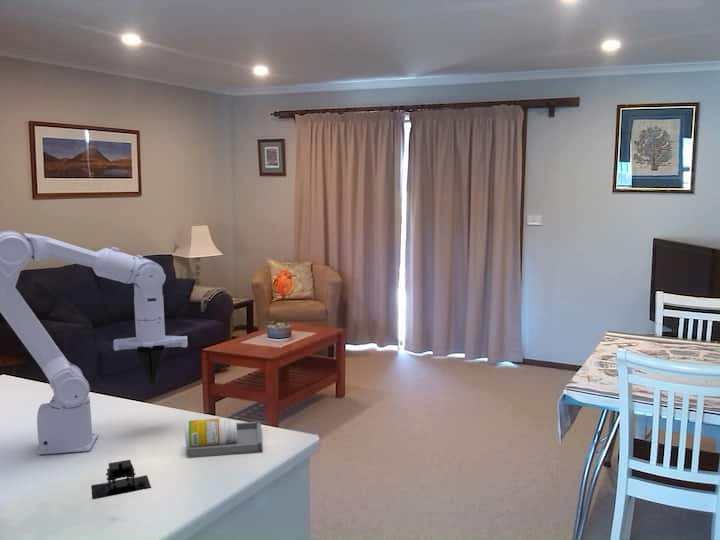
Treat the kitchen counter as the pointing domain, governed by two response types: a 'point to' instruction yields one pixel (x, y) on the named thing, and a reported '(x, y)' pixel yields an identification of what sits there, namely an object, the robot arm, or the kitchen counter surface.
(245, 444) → the gray tray
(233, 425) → the supplement bottle
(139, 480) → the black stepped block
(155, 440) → the kitchen counter surface
